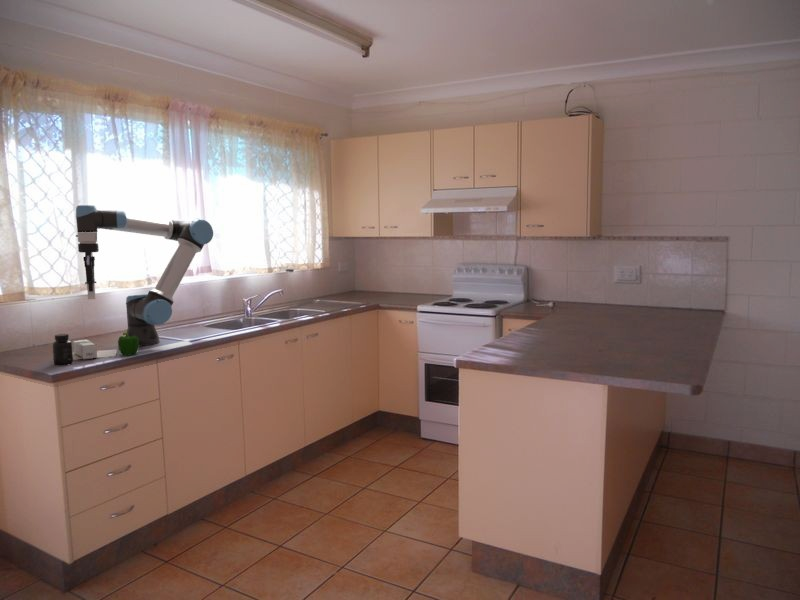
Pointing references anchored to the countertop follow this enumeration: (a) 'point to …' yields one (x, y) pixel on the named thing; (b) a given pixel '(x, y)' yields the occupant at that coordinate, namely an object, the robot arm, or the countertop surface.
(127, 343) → the bell pepper
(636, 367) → the countertop surface
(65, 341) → the supplement bottle
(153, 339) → the robot arm
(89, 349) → the syrup box
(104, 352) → the mat
